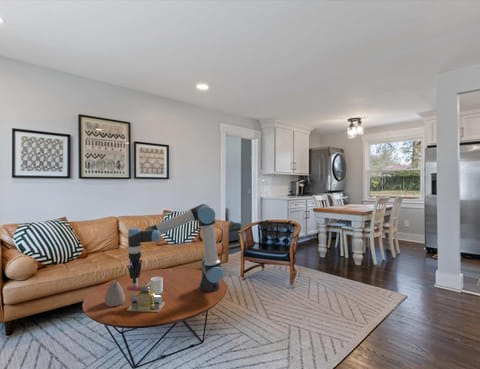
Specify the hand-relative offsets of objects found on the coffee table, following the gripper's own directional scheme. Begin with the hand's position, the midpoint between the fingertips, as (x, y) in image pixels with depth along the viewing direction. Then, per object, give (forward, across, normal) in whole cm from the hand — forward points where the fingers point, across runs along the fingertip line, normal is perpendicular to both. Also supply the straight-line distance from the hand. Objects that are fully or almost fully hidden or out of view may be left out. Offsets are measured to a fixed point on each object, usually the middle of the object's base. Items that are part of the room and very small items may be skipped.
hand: (135, 287), depth 181 cm
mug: (+12, -19, +2) cm, 22 cm away
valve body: (+11, +2, +9) cm, 14 cm away
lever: (+1, +2, +3) cm, 4 cm away
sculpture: (+11, +2, -15) cm, 18 cm away
